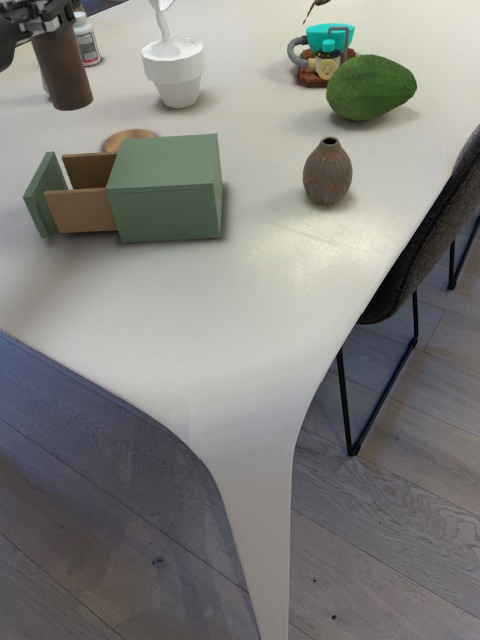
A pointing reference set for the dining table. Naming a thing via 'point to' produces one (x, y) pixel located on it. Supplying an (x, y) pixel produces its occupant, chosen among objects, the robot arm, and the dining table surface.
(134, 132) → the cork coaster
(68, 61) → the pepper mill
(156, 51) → the potted plant
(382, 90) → the fruit
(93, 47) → the pill bottle
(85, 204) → the drawer
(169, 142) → the cabinet
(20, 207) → the dining table surface
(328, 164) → the vase
